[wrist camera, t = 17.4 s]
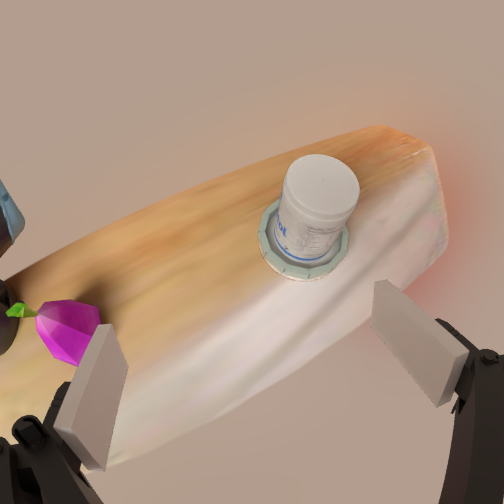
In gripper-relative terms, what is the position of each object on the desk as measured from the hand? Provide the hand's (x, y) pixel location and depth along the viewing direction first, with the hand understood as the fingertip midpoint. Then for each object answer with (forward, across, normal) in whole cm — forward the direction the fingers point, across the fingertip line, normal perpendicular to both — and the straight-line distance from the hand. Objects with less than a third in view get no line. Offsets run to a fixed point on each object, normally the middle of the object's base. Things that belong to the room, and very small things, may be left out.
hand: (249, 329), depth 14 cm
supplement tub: (+33, +12, -7) cm, 36 cm away
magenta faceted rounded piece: (+27, -25, -16) cm, 40 cm away
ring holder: (+34, +12, -8) cm, 37 cm away
